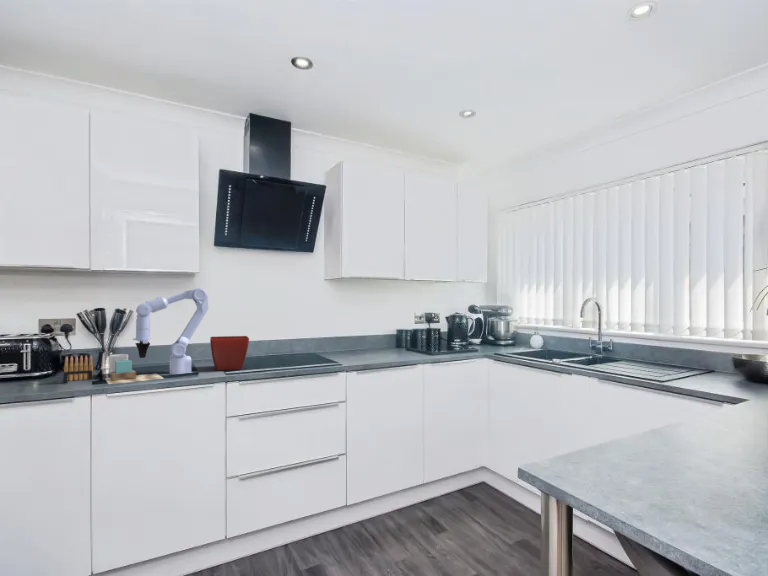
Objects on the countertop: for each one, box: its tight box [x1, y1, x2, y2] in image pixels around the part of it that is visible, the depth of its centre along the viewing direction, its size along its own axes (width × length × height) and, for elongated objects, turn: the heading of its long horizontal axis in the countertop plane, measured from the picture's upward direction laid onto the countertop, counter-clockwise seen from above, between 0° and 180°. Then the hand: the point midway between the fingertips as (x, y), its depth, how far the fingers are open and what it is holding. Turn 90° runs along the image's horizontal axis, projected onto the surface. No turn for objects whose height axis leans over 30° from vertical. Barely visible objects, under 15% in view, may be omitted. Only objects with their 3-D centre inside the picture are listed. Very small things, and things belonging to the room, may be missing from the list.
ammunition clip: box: [62, 354, 94, 385], centre depth 182 cm, size 11×2×12 cm, turn 119°
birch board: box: [104, 373, 165, 385], centre depth 186 cm, size 21×17×1 cm
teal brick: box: [115, 359, 133, 373], centre depth 185 cm, size 6×4×5 cm
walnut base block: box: [110, 369, 137, 381], centre depth 185 cm, size 9×7×3 cm
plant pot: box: [209, 335, 250, 371], centre depth 220 cm, size 19×19×17 cm
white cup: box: [108, 353, 129, 376], centre depth 199 cm, size 8×8×10 cm
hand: (142, 357), depth 194 cm, fingers closed
